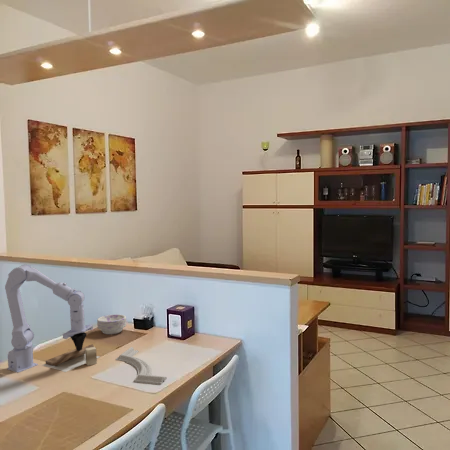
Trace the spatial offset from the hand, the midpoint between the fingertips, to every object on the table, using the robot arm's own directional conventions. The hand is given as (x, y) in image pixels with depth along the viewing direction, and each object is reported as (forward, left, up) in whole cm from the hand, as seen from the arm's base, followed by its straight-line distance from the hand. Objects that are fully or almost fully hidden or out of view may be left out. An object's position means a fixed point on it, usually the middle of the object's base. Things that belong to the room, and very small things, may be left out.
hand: (79, 350), depth 187 cm
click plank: (0, +3, -3) cm, 4 cm away
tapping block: (+3, -4, -3) cm, 5 cm away
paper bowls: (+39, +21, -6) cm, 45 cm away
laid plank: (0, +10, -6) cm, 12 cm away
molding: (+11, -27, -7) cm, 30 cm away
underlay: (0, +5, -6) cm, 8 cm away
